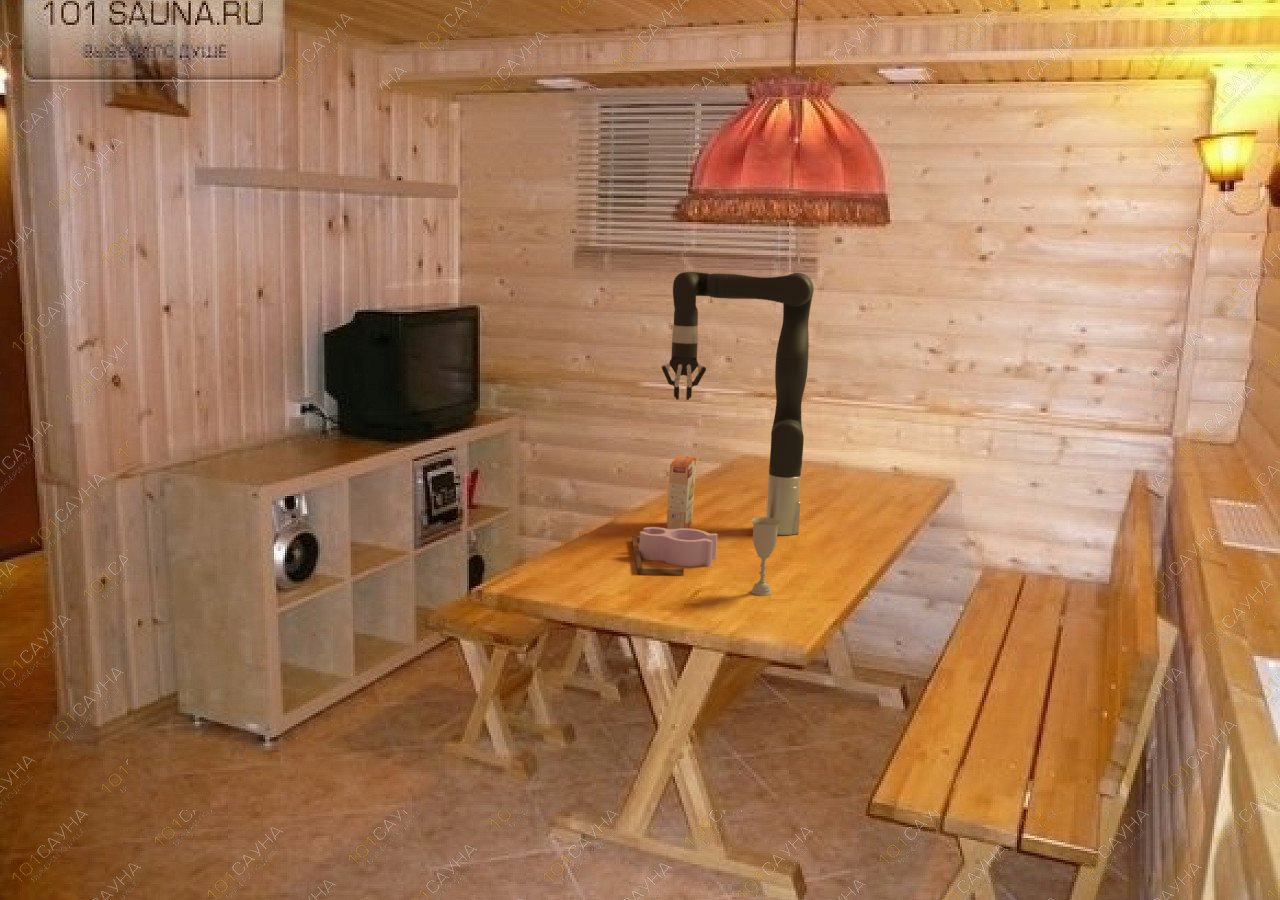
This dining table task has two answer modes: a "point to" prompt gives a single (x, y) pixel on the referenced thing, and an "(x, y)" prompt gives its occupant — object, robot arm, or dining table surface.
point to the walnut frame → (651, 570)
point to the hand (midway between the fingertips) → (682, 399)
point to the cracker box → (681, 492)
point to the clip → (678, 546)
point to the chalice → (764, 548)
